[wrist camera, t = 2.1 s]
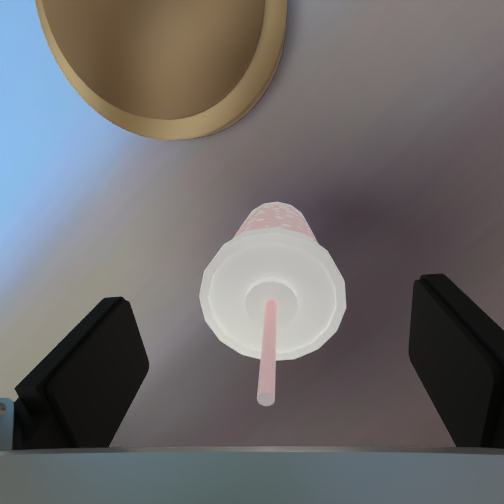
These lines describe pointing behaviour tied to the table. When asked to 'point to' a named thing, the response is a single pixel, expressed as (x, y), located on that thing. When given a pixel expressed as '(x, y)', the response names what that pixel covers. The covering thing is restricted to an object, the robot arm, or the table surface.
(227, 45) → the pedestal
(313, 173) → the table surface
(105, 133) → the table surface
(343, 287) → the beverage cup
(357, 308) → the table surface
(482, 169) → the table surface
